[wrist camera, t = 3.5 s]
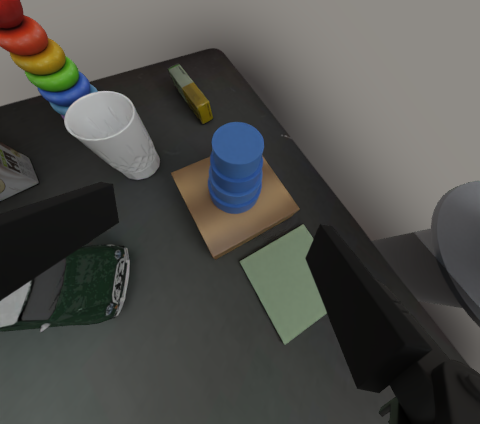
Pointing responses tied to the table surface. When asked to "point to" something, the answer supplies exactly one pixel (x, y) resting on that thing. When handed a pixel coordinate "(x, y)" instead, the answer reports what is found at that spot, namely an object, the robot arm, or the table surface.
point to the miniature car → (70, 291)
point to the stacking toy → (41, 58)
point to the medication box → (191, 93)
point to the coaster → (286, 283)
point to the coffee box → (14, 172)
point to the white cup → (113, 133)
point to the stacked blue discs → (236, 167)
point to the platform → (225, 224)
